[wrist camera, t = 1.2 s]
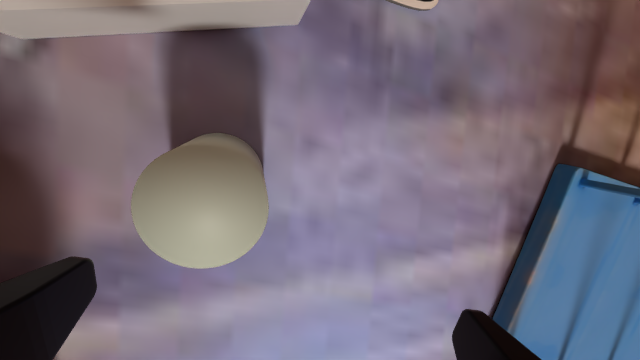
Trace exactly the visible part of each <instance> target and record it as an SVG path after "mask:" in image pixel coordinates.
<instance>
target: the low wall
mask: <svg viewBox="0 0 640 360" xmlns="http://www.w3.org/2000/svg"><path fill="white" fill-rule="evenodd" d="M310 1H311V0H0V32H1V33H4V34H7V35H10V36H14V37H17V38H20V39H36V38H55V37H75V36H94V35H113V34H132V33H152V32H171V31H190V30H210V29H229V28H248V27H267V26H287V25H298V24H299V22H300V20H301V18H302V16H303V14H304V12H305V10H306V9H307V7H308V5H309V3H310Z"/></svg>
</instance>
